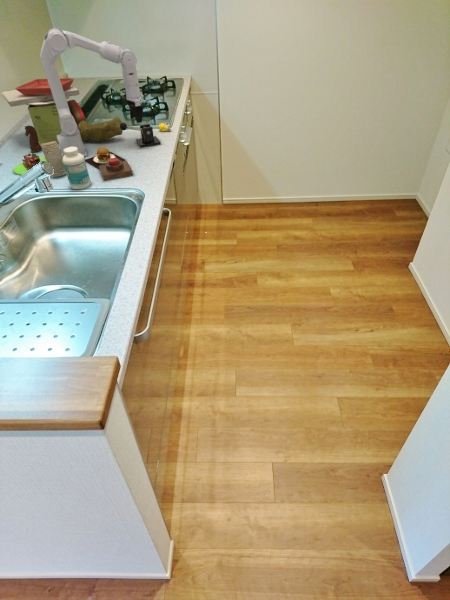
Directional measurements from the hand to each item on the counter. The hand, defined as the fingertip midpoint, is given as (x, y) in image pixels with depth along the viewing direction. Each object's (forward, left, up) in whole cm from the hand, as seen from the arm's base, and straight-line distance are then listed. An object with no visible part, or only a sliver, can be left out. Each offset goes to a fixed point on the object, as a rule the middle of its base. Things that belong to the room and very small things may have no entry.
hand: (137, 119), depth 169 cm
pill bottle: (-30, -31, -10) cm, 44 cm away
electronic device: (-35, +27, +8) cm, 45 cm away
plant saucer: (-32, +23, +9) cm, 41 cm away
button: (-16, -26, -7) cm, 31 cm away
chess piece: (-43, +12, -10) cm, 46 cm away
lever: (-2, -1, -4) cm, 5 cm away
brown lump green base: (-44, -7, -10) cm, 46 cm away
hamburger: (-18, -12, -10) cm, 24 cm away
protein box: (-33, +23, -10) cm, 42 cm away
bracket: (+3, -1, -10) cm, 11 cm away
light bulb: (+13, +9, -9) cm, 18 cm away
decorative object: (-22, +19, -4) cm, 29 cm away
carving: (-36, -19, -10) cm, 42 cm away
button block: (-16, -26, -10) cm, 32 cm away
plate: (-34, +24, +6) cm, 42 cm away
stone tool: (-14, +16, -4) cm, 22 cm away
